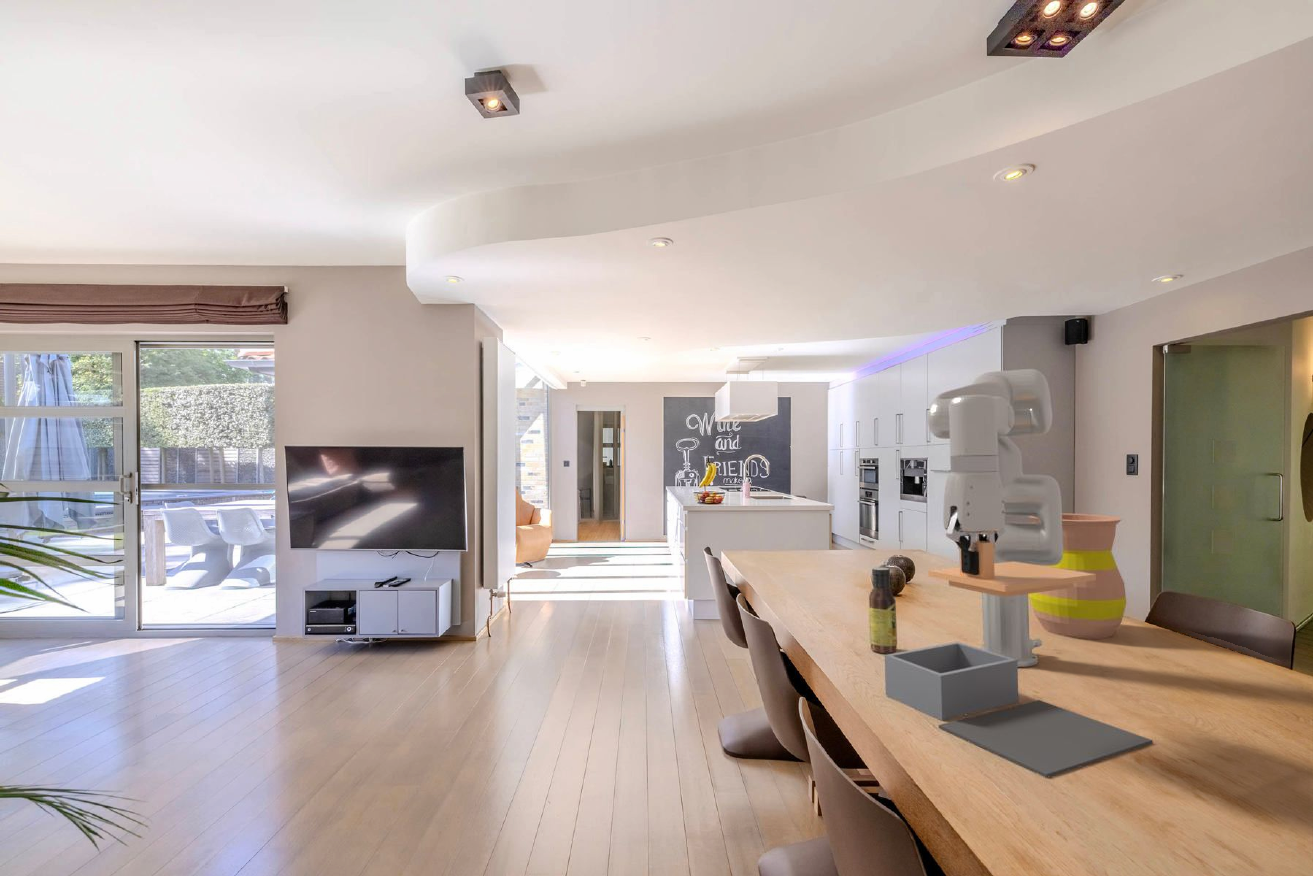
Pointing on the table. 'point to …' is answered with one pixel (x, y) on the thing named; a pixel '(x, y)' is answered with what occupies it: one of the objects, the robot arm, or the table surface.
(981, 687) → the tub
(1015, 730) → the mat
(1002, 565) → the lid
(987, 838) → the table surface
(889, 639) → the sauce bottle
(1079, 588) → the vase
